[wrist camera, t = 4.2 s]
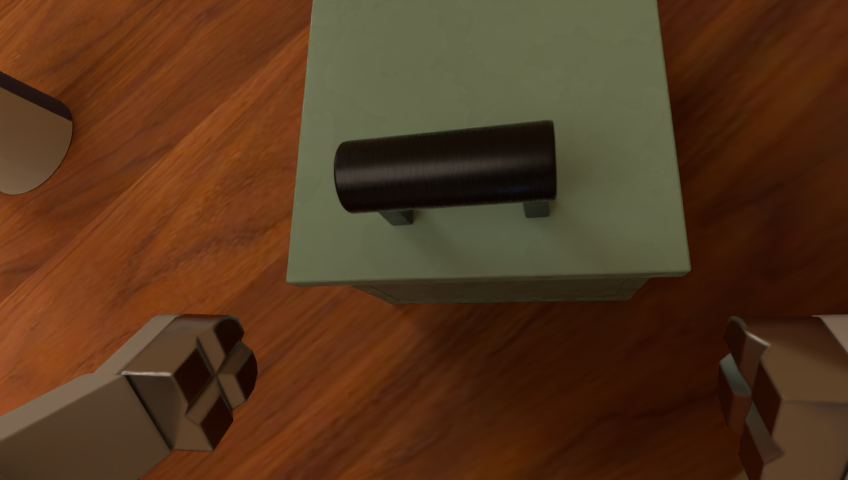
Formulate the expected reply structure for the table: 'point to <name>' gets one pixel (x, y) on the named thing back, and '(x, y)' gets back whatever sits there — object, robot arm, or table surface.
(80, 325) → the table surface
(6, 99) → the water bottle
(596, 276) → the box lid
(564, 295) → the green box
